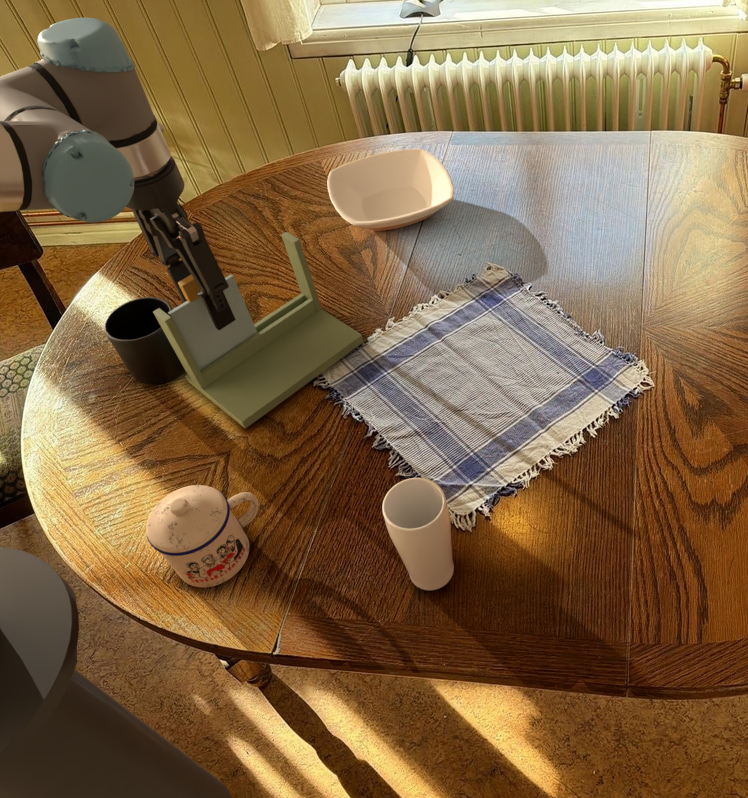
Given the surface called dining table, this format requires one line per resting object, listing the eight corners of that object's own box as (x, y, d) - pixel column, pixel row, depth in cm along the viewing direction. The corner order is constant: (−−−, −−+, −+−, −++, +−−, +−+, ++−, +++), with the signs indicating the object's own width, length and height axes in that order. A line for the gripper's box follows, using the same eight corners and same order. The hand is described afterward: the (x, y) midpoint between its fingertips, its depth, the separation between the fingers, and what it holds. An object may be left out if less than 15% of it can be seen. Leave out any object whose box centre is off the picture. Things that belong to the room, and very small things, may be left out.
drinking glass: (412, 543, 92) (392, 472, 80) (466, 551, 91) (453, 480, 79) (396, 593, 87) (372, 526, 76) (453, 602, 86) (437, 535, 75)
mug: (166, 324, 119) (142, 280, 112) (207, 359, 113) (185, 315, 106) (111, 356, 114) (82, 313, 107) (151, 395, 109) (123, 351, 102)
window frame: (245, 429, 104) (206, 354, 93) (188, 382, 110) (146, 306, 99) (363, 342, 115) (342, 265, 103) (306, 304, 121) (280, 227, 110)
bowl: (324, 192, 142) (317, 167, 138) (432, 165, 147) (429, 141, 143) (351, 257, 128) (344, 232, 124) (469, 226, 134) (466, 200, 130)
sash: (206, 381, 108) (161, 298, 96) (201, 377, 109) (156, 294, 96) (262, 343, 113) (227, 259, 101) (258, 339, 113) (222, 255, 101)
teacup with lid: (195, 605, 87) (154, 556, 78) (163, 554, 91) (121, 502, 83) (286, 544, 92) (258, 491, 83) (252, 498, 96) (221, 443, 88)
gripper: (216, 180, 84) (275, 328, 101) (124, 124, 92) (193, 270, 110) (157, 211, 80) (229, 359, 97) (66, 150, 89) (147, 297, 106)
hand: (210, 312), depth 103 cm, fingers open, 7 cm apart
